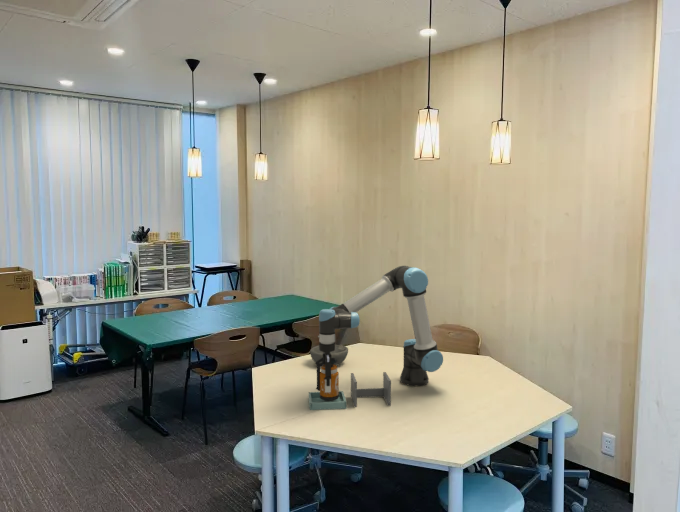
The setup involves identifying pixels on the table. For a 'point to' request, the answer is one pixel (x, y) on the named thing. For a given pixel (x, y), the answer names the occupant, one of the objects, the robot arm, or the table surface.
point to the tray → (326, 402)
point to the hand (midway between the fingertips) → (327, 388)
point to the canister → (321, 381)
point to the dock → (371, 390)
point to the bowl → (338, 353)
